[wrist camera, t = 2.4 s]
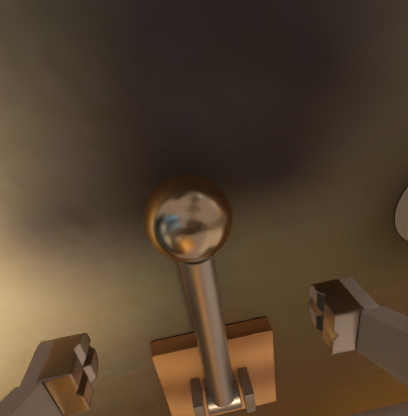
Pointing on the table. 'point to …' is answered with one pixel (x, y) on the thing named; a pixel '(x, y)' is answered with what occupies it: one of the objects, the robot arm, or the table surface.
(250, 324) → the holder base
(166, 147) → the table surface
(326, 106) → the table surface
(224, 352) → the ball topped rod
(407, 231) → the cylindrical container
